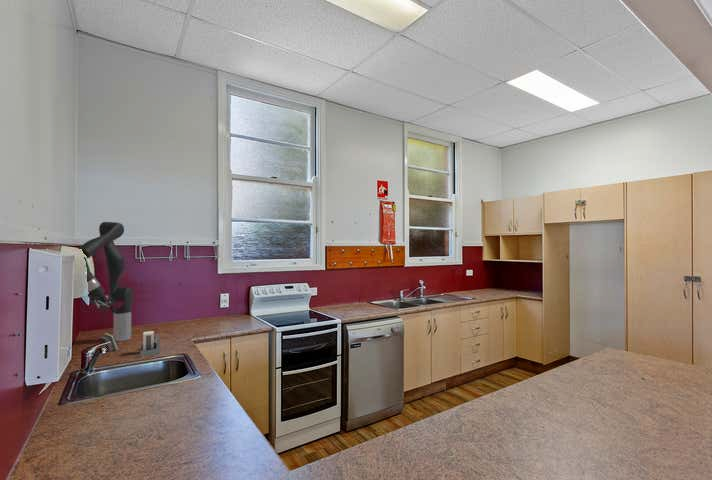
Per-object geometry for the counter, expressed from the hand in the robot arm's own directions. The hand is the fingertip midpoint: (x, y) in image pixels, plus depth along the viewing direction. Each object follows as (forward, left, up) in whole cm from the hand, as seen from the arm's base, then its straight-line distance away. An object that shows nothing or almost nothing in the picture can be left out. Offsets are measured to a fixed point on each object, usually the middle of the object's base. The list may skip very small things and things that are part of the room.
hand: (109, 311), depth 190 cm
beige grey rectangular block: (+5, +18, -24) cm, 30 cm away
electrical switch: (-9, -1, -24) cm, 25 cm away
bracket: (+5, +19, -24) cm, 30 cm away
